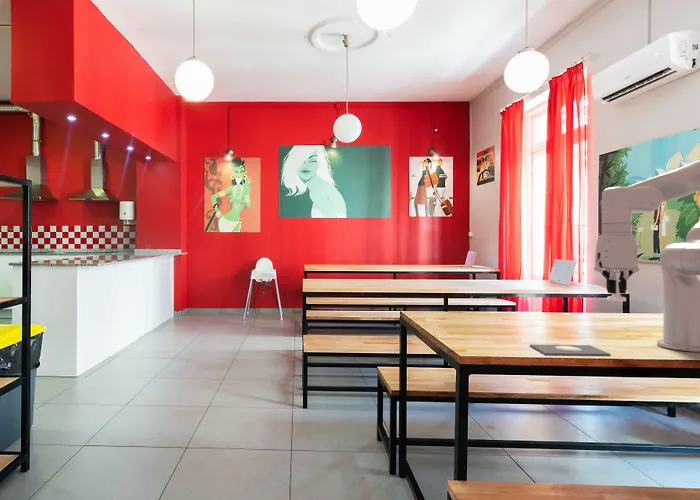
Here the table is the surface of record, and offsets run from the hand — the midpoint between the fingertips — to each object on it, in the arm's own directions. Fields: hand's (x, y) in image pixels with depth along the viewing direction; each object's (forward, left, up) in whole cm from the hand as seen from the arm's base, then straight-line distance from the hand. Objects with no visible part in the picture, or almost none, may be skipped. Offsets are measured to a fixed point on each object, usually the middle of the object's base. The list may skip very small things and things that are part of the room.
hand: (616, 292), depth 127 cm
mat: (+12, +7, -17) cm, 22 cm away
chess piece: (0, 0, -2) cm, 2 cm away
